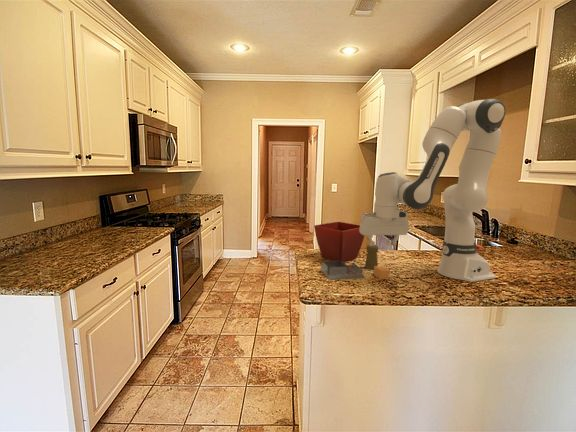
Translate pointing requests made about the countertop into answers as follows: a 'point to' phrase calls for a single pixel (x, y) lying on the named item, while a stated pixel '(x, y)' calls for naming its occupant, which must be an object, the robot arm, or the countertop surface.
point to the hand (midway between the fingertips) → (382, 245)
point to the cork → (371, 257)
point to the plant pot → (339, 240)
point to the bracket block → (381, 272)
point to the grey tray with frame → (341, 270)
